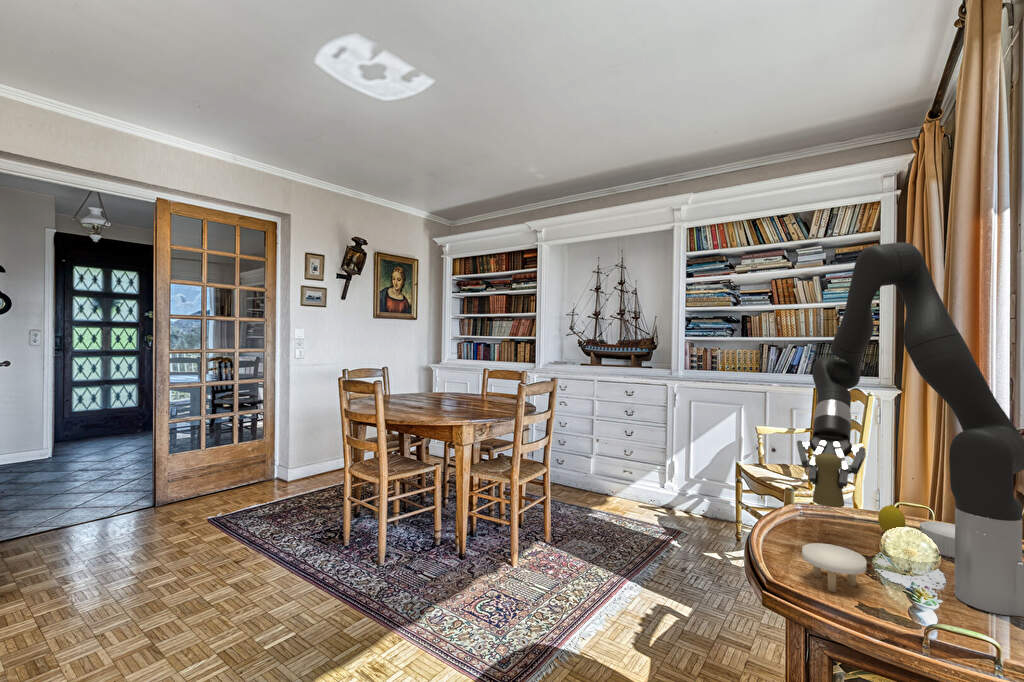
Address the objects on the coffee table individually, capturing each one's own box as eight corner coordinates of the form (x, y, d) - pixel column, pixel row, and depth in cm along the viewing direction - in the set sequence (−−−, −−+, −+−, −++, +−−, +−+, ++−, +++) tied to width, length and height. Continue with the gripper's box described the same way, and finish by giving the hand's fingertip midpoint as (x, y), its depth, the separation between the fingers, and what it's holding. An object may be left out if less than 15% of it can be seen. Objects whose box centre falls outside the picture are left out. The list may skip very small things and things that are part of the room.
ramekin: (986, 566, 110) (986, 543, 110) (920, 553, 116) (920, 531, 116) (978, 550, 119) (978, 528, 119) (918, 538, 125) (918, 517, 125)
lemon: (903, 534, 127) (904, 503, 127) (906, 542, 123) (907, 509, 123) (877, 530, 130) (877, 499, 130) (879, 537, 126) (879, 505, 126)
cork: (849, 508, 108) (849, 457, 108) (818, 506, 109) (818, 456, 109) (837, 499, 114) (837, 451, 114) (808, 497, 115) (808, 450, 115)
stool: (866, 581, 102) (867, 552, 102) (865, 603, 94) (865, 571, 94) (805, 566, 109) (805, 539, 109) (798, 585, 100) (798, 556, 100)
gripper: (796, 411, 122) (789, 470, 112) (868, 416, 113) (866, 480, 104) (799, 429, 126) (792, 488, 116) (868, 436, 117) (867, 499, 108)
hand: (827, 484), depth 110 cm, fingers closed on cork, 4 cm apart
